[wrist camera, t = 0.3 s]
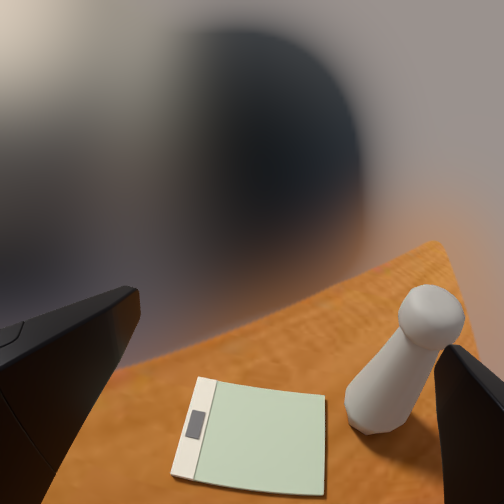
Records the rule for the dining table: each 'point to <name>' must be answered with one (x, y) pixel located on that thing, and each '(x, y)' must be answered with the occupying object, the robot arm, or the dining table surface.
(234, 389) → the pad
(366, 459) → the dining table surface
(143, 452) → the dining table surface
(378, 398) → the salt shaker
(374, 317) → the dining table surface
